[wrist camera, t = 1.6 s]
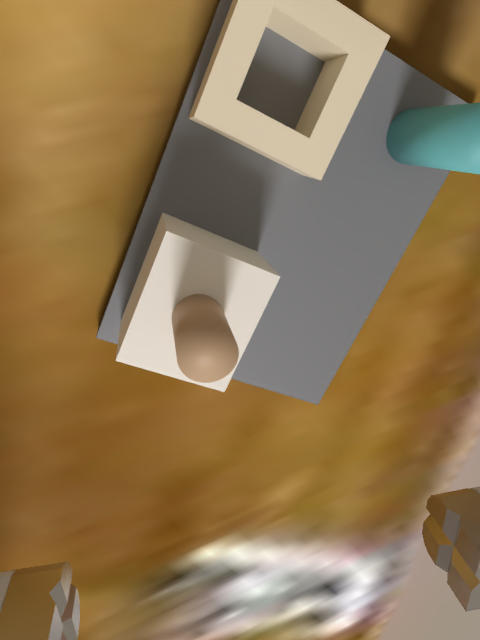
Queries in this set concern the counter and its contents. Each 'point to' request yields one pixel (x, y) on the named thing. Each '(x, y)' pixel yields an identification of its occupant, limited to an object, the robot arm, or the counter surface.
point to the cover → (194, 305)
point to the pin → (437, 137)
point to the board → (294, 177)
